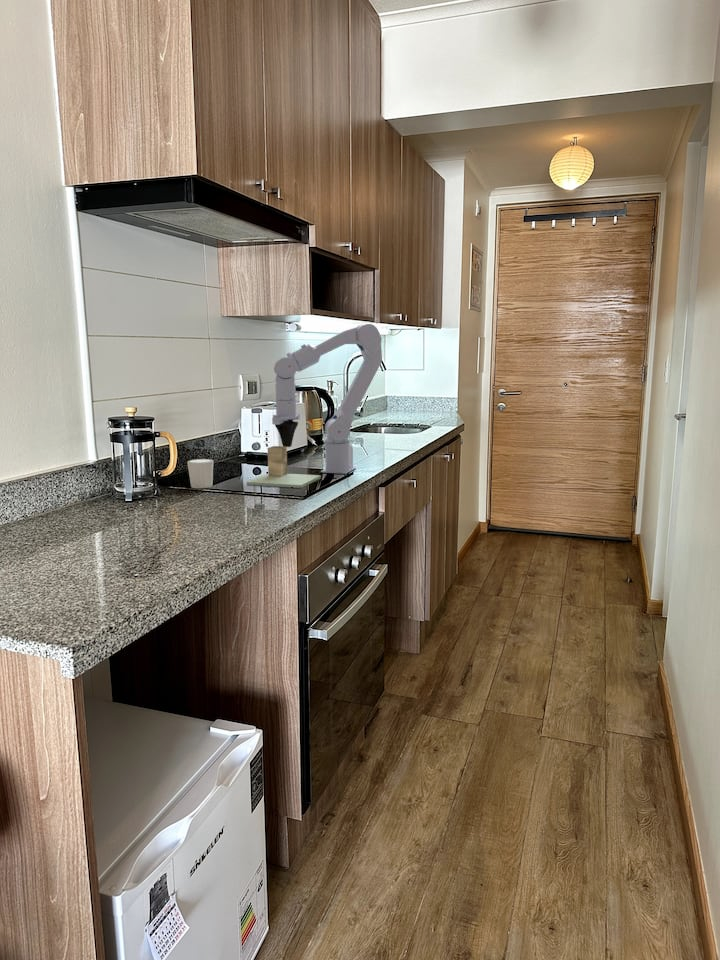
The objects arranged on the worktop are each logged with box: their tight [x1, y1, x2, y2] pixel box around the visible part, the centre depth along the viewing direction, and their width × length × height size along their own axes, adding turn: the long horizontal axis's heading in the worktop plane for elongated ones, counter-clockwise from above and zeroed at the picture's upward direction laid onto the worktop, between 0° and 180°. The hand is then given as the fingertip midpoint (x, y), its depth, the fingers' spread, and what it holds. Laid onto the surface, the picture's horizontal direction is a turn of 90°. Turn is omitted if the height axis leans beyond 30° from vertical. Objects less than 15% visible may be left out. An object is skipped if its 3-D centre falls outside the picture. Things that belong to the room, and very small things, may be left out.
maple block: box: [267, 445, 288, 477], centre depth 191 cm, size 4×4×8 cm
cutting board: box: [246, 473, 322, 489], centre depth 187 cm, size 14×16×1 cm
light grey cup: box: [187, 458, 214, 489], centre depth 181 cm, size 7×7×7 cm
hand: (287, 446), depth 197 cm, fingers closed
